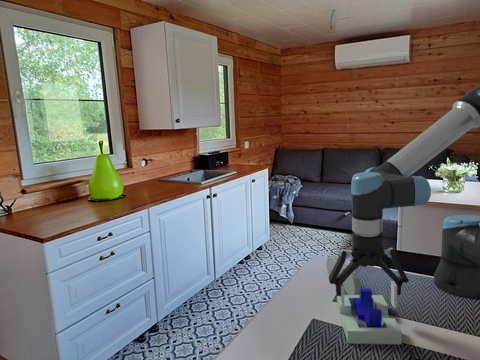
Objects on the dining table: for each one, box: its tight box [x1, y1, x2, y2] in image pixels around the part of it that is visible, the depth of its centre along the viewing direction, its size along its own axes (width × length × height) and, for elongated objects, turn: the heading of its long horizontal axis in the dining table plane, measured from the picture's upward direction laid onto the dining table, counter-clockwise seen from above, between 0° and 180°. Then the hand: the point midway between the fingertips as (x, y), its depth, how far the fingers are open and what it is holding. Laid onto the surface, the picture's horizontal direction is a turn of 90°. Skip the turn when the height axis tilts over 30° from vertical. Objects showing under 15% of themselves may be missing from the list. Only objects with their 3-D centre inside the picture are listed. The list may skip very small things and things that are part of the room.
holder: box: [336, 294, 403, 345], centre depth 97 cm, size 13×18×4 cm
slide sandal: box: [325, 254, 362, 295], centre depth 118 cm, size 20×2×8 cm, turn 13°
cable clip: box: [354, 288, 382, 328], centre depth 97 cm, size 12×4×6 cm, turn 173°
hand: (367, 305), depth 97 cm, fingers open, 13 cm apart
